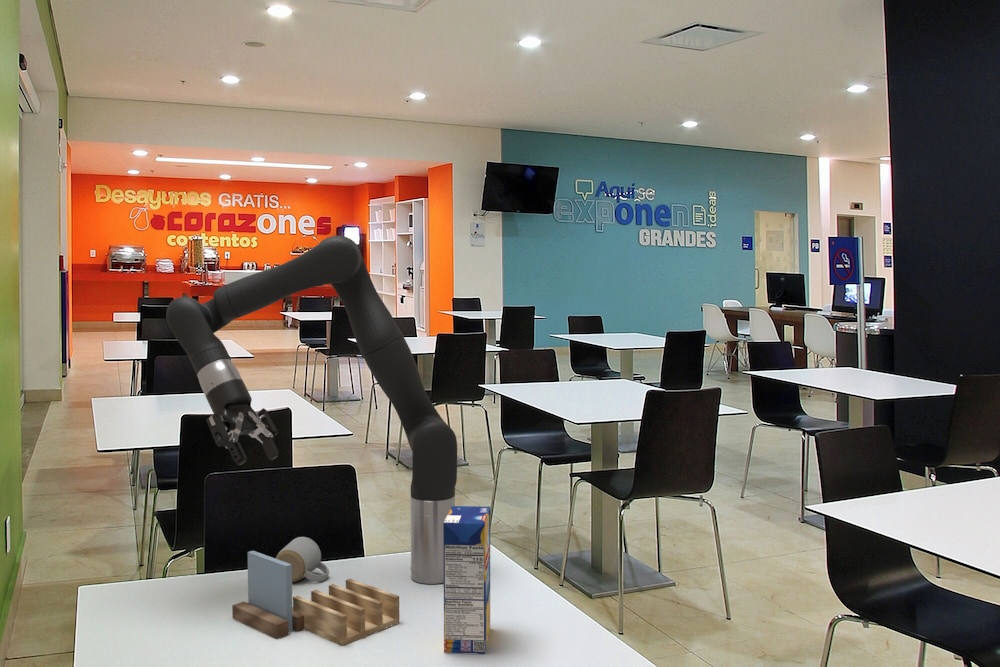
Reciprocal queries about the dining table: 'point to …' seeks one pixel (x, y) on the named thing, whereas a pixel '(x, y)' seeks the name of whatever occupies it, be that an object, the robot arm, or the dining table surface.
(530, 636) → the dining table surface
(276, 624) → the stand
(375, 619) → the rack
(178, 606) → the dining table surface
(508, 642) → the dining table surface
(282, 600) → the pale blue board
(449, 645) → the beverage box
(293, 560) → the ceramic mug
